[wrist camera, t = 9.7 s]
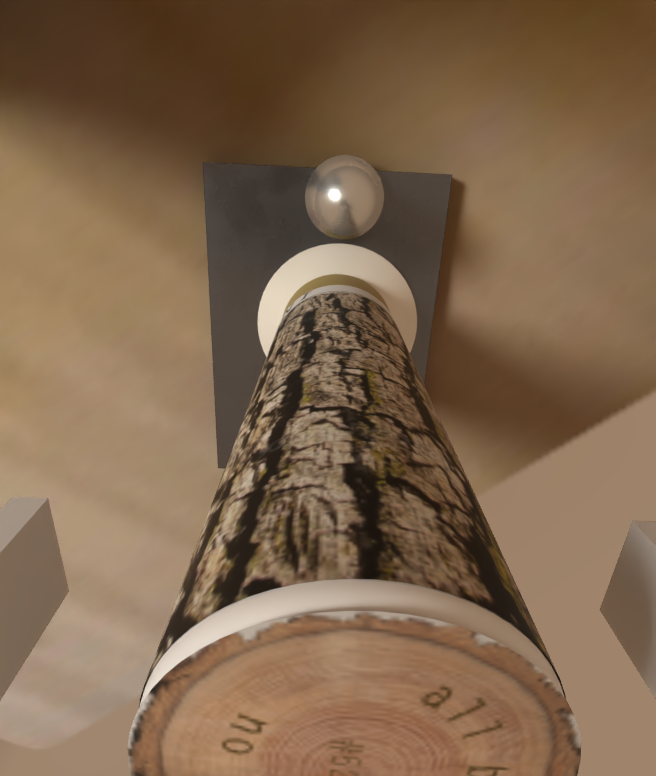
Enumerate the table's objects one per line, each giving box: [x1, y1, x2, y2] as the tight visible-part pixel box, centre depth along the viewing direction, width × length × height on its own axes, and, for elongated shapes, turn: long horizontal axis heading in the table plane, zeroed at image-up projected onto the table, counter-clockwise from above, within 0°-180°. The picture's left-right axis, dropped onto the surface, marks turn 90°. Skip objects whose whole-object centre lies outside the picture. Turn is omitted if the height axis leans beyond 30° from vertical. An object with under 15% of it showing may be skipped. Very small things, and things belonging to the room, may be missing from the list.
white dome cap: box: [258, 243, 417, 357], centre depth 30 cm, size 10×10×1 cm
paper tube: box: [128, 274, 581, 776], centre depth 19 cm, size 7×7×25 cm
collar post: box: [305, 155, 384, 239], centre depth 25 cm, size 4×4×6 cm
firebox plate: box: [203, 162, 452, 468], centre depth 32 cm, size 20×14×1 cm
